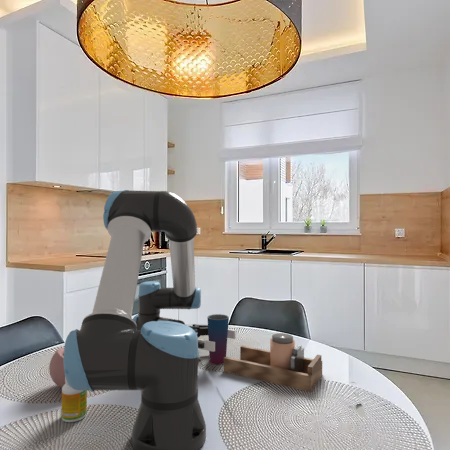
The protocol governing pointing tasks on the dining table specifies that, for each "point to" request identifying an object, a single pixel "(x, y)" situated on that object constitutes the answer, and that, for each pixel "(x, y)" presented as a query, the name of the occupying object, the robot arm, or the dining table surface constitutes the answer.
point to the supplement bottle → (73, 403)
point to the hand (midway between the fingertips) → (225, 340)
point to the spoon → (359, 406)
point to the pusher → (298, 359)
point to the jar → (281, 350)
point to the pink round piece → (57, 368)
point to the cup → (218, 337)
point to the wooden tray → (273, 369)
